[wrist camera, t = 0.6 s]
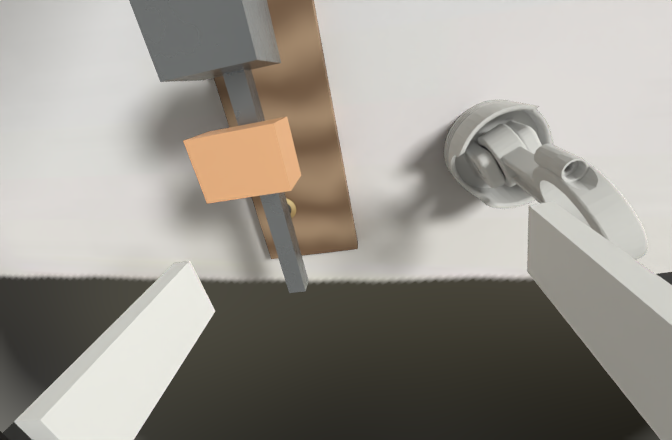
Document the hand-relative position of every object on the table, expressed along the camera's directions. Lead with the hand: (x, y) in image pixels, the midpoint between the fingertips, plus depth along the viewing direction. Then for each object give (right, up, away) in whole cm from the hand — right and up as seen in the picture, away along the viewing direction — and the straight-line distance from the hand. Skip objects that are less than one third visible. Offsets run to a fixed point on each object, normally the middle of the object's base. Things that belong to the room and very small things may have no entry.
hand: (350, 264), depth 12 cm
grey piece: (-6, +10, +24) cm, 27 cm away
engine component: (+17, +10, +24) cm, 31 cm away
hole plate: (-6, +11, +25) cm, 28 cm away
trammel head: (-7, +11, +23) cm, 26 cm away
